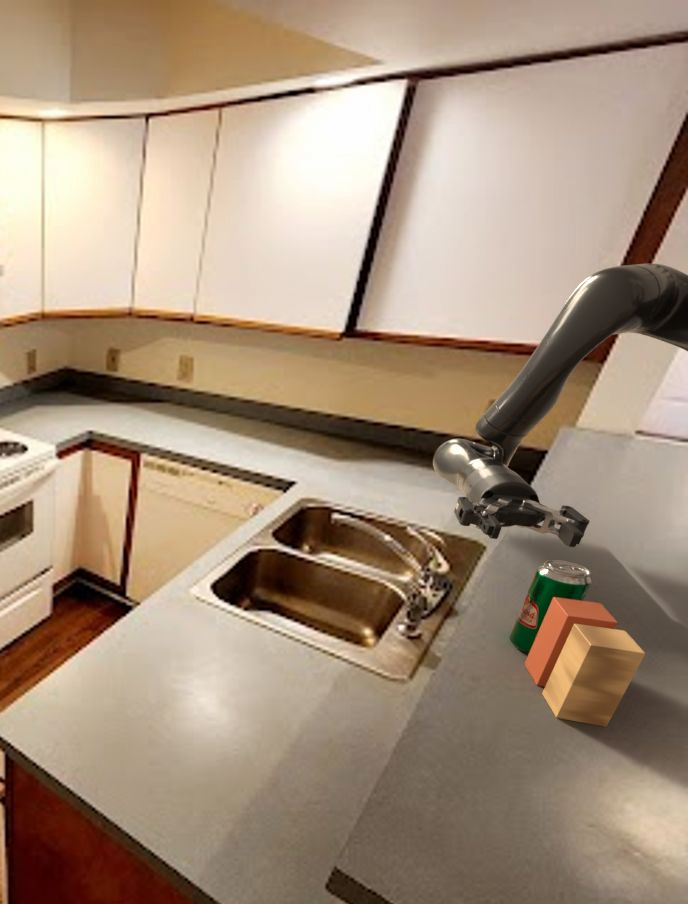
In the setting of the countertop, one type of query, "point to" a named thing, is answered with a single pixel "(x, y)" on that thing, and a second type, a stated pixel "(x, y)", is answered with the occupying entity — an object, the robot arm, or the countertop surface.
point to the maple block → (592, 674)
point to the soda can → (548, 597)
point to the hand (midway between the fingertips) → (535, 536)
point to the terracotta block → (562, 633)
